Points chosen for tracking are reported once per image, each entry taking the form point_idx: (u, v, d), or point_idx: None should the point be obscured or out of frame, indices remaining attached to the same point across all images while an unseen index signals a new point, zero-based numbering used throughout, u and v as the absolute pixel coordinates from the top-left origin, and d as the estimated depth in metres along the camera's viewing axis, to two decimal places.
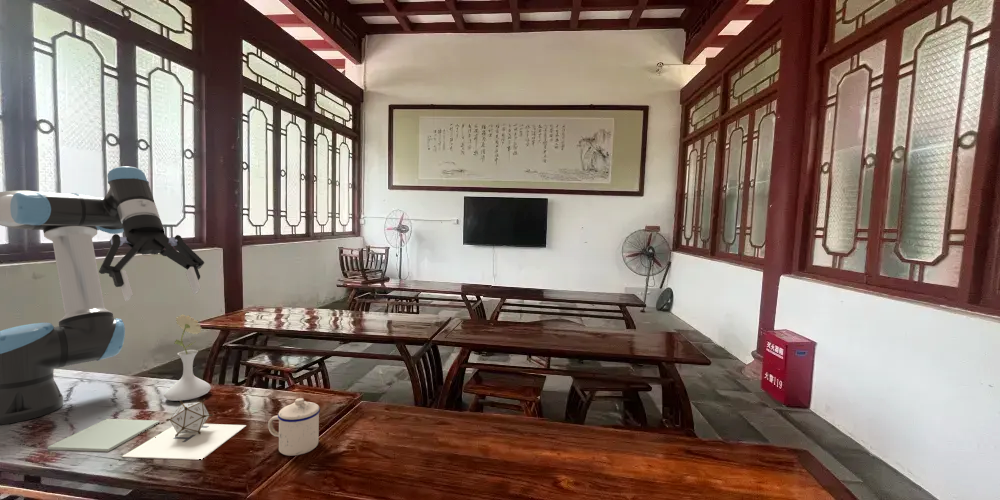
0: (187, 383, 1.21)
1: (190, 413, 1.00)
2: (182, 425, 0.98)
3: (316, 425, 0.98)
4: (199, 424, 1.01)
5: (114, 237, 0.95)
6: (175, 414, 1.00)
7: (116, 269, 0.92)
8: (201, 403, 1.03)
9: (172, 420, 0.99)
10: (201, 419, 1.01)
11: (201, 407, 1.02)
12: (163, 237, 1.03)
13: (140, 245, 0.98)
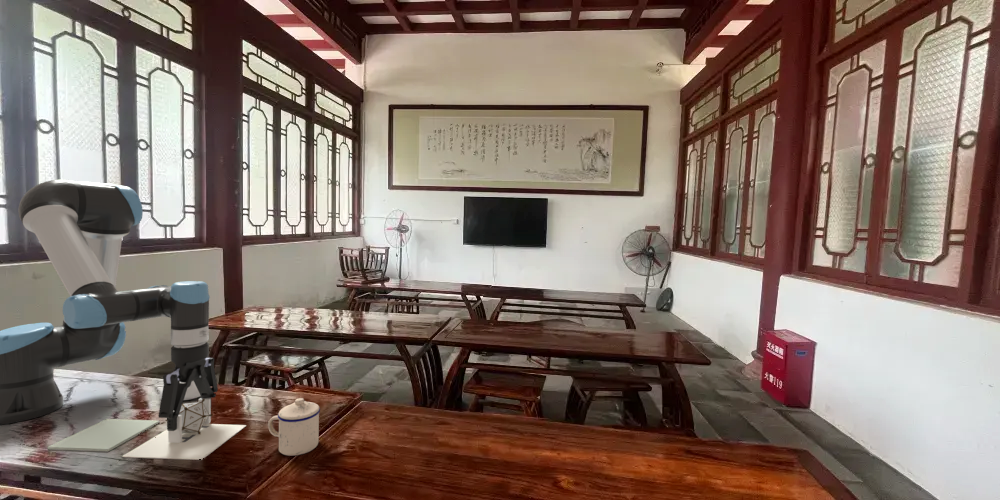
0: None
1: (190, 413, 1.00)
2: (182, 425, 0.98)
3: (316, 425, 0.98)
4: (199, 424, 1.01)
5: (174, 379, 0.95)
6: None
7: (176, 416, 0.96)
8: (201, 403, 1.03)
9: None
10: (201, 419, 1.01)
11: (201, 407, 1.02)
12: (203, 361, 1.04)
13: (191, 380, 1.00)
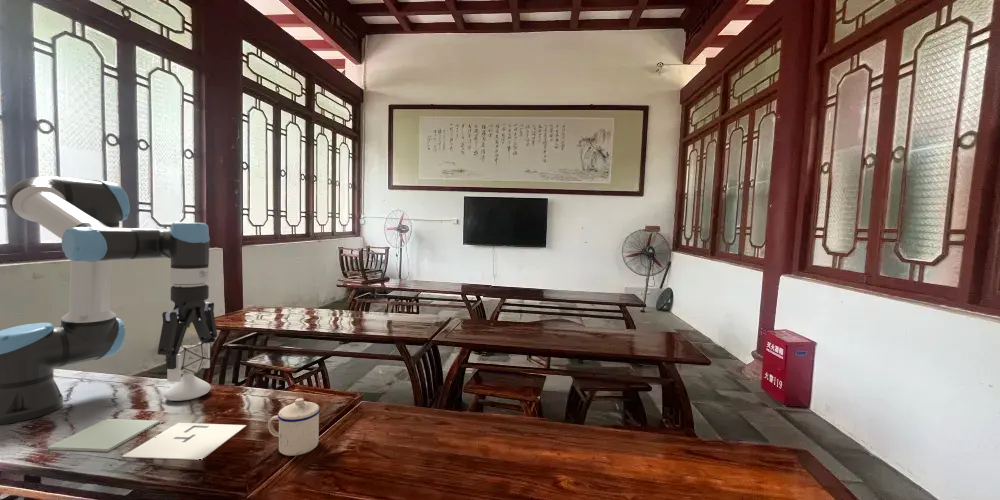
0: (187, 383, 1.21)
1: (189, 354, 0.99)
2: (181, 365, 0.98)
3: (316, 425, 0.98)
4: (198, 365, 1.01)
5: (173, 316, 0.94)
6: None
7: (175, 354, 0.95)
8: (200, 345, 1.03)
9: None
10: (200, 360, 1.00)
11: (200, 349, 1.02)
12: (203, 304, 1.04)
13: (190, 320, 0.99)
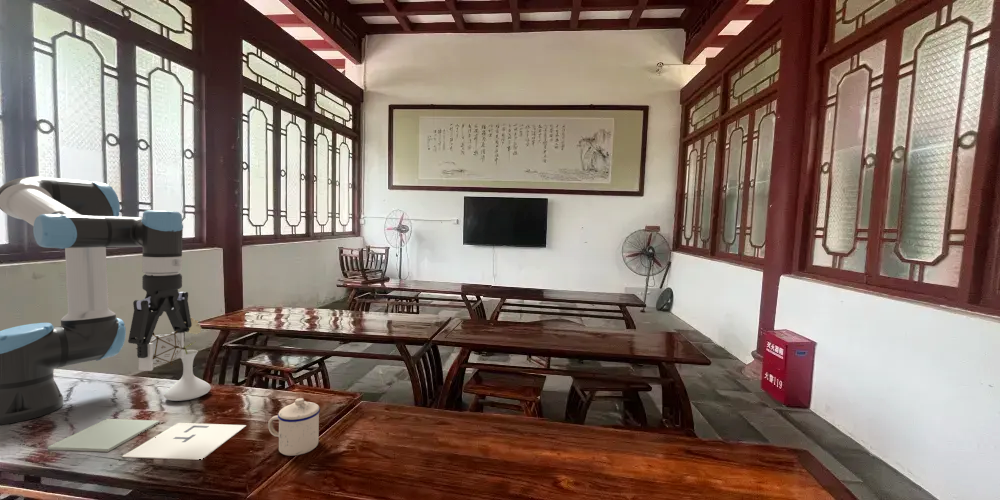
0: (187, 383, 1.21)
1: (162, 343, 0.99)
2: (153, 354, 0.97)
3: (316, 425, 0.98)
4: (171, 355, 1.00)
5: (144, 305, 0.94)
6: None
7: (147, 343, 0.95)
8: (173, 335, 1.02)
9: None
10: (173, 350, 1.00)
11: (173, 338, 1.01)
12: (176, 294, 1.03)
13: (163, 309, 0.98)
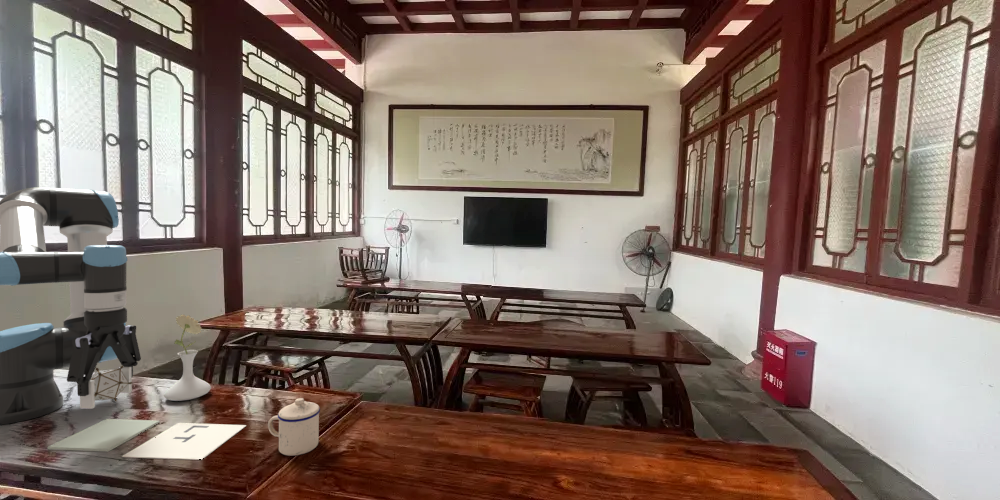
0: (187, 383, 1.21)
1: (105, 379, 0.97)
2: (95, 391, 0.96)
3: (316, 425, 0.98)
4: (115, 391, 0.99)
5: (83, 342, 0.93)
6: None
7: (87, 381, 0.94)
8: (118, 370, 1.01)
9: None
10: (117, 385, 0.99)
11: (118, 374, 1.00)
12: (122, 328, 1.02)
13: (105, 345, 0.97)
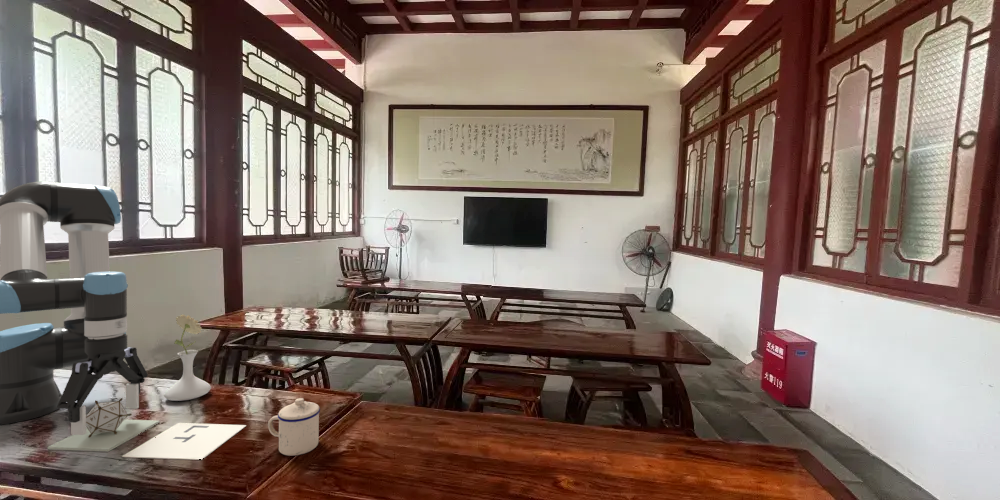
0: (187, 383, 1.21)
1: (105, 413, 0.98)
2: (95, 425, 0.96)
3: (316, 425, 0.98)
4: (115, 424, 0.99)
5: (83, 367, 0.93)
6: (88, 414, 0.97)
7: (78, 407, 0.92)
8: (118, 402, 1.01)
9: None
10: (117, 419, 0.99)
11: (117, 406, 1.00)
12: (122, 354, 1.02)
13: (103, 372, 0.97)
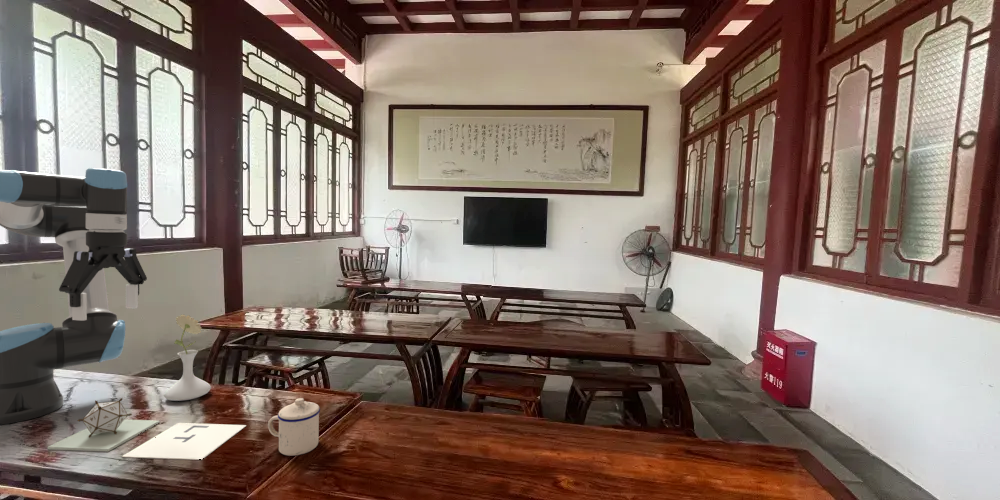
0: (187, 383, 1.21)
1: (105, 413, 0.98)
2: (95, 425, 0.96)
3: (316, 425, 0.98)
4: (115, 424, 0.99)
5: (84, 255, 0.96)
6: (88, 414, 0.97)
7: (79, 292, 0.95)
8: (118, 402, 1.01)
9: (85, 420, 0.97)
10: (117, 419, 0.99)
11: (117, 406, 1.00)
12: (122, 252, 1.06)
13: (104, 264, 1.01)
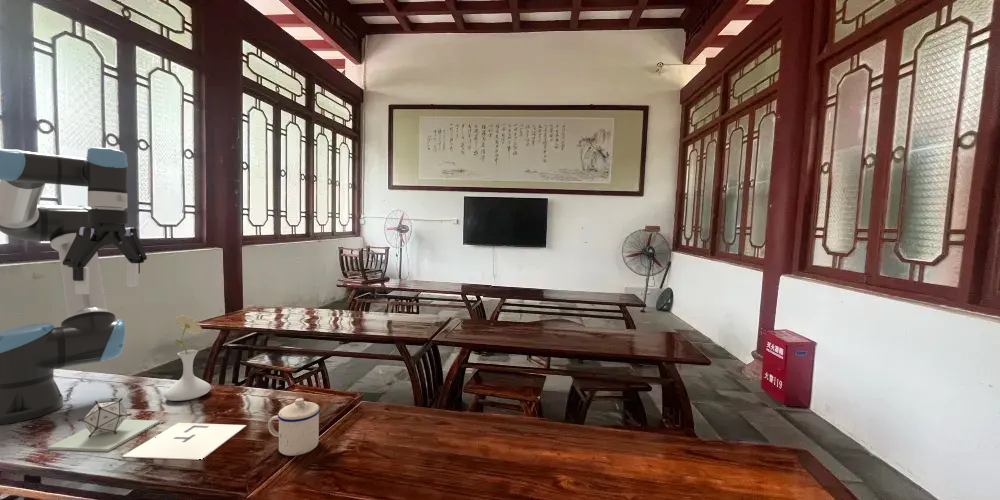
0: (187, 383, 1.21)
1: (105, 413, 0.98)
2: (95, 425, 0.96)
3: (316, 425, 0.98)
4: (115, 424, 0.99)
5: (87, 231, 0.99)
6: (88, 414, 0.97)
7: (82, 266, 0.98)
8: (118, 402, 1.01)
9: (85, 420, 0.97)
10: (117, 419, 0.99)
11: (117, 406, 1.00)
12: (123, 230, 1.09)
13: (105, 241, 1.04)
